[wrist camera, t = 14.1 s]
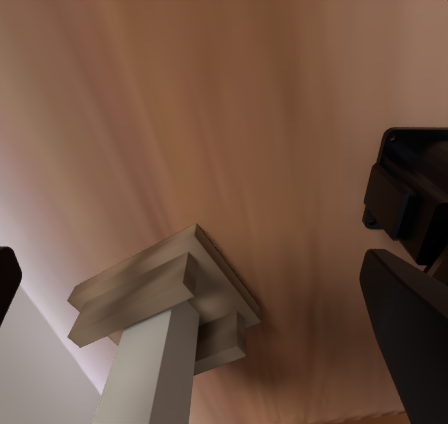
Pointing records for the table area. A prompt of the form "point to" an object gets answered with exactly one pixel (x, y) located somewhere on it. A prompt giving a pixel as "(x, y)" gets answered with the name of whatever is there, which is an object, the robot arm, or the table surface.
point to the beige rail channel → (170, 297)
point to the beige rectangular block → (152, 370)
